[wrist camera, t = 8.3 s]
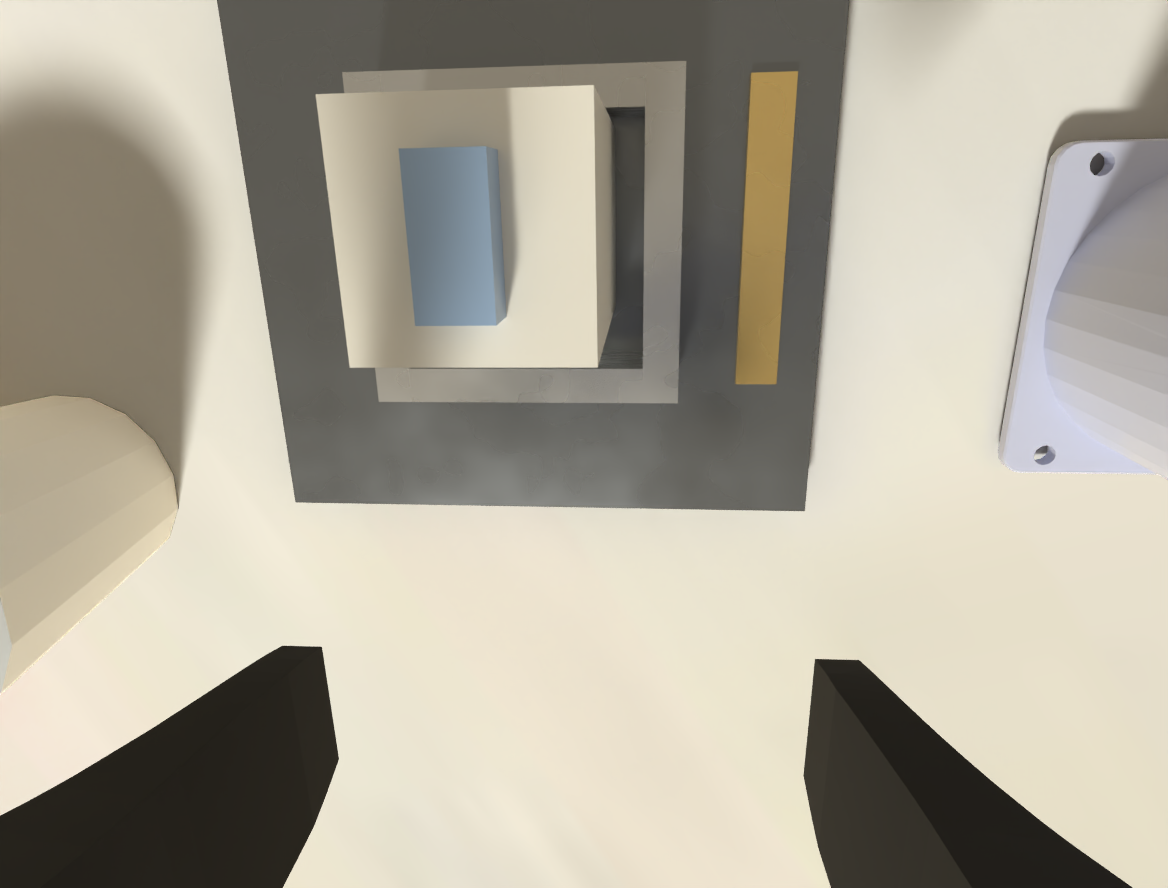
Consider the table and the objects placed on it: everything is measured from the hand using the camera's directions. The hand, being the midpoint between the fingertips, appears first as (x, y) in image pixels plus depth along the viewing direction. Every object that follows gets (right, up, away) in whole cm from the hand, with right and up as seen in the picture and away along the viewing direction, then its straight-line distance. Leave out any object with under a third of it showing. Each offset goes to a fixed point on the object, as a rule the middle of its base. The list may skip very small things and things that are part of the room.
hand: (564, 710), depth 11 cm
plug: (-1, +9, +7) cm, 12 cm away
